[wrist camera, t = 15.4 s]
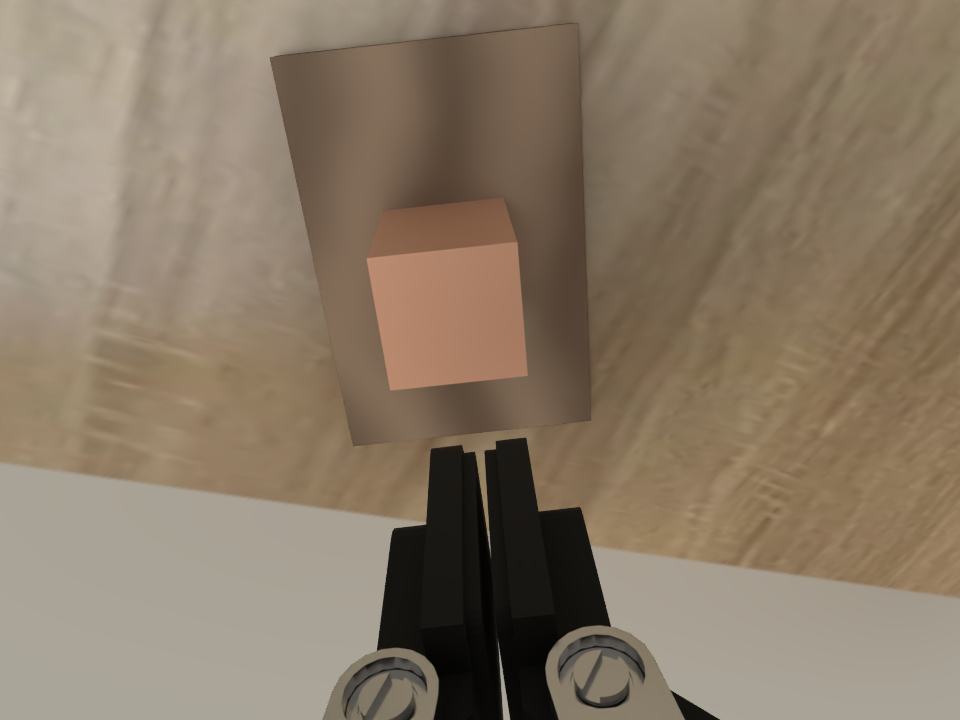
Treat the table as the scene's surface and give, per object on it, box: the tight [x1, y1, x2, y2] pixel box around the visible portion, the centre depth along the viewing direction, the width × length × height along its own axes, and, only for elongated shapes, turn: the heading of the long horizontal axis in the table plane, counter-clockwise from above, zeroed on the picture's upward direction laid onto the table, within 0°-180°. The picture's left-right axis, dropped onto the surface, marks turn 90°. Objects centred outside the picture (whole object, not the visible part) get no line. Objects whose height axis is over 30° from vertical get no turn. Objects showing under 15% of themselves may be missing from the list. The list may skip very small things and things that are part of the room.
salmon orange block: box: [366, 198, 528, 391], centre depth 28 cm, size 5×5×7 cm
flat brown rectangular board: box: [270, 23, 591, 446], centre depth 29 cm, size 12×18×7 cm, turn 6°
